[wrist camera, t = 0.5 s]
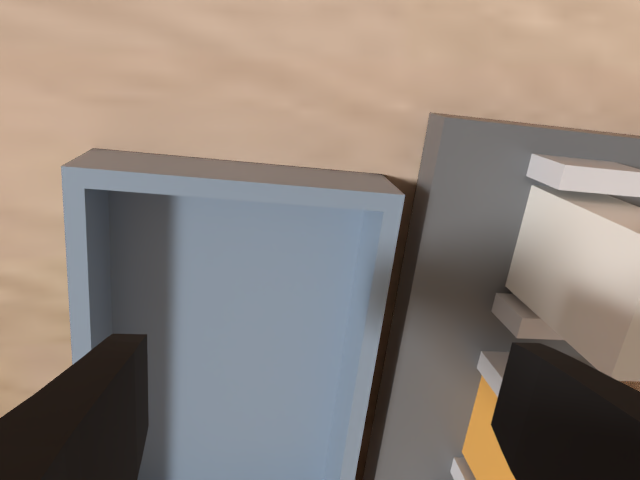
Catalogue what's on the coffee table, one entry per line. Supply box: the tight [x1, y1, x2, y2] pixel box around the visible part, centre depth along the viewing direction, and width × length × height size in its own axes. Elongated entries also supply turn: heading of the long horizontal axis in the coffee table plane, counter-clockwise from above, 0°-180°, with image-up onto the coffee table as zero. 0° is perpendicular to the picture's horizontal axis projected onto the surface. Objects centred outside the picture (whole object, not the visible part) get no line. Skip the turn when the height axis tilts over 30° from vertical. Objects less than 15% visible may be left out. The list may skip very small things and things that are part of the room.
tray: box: [61, 148, 405, 480], centre depth 19 cm, size 15×10×3 cm
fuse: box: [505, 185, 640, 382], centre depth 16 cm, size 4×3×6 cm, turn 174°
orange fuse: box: [462, 376, 516, 480], centre depth 18 cm, size 4×3×6 cm, turn 174°
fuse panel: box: [363, 113, 640, 480], centre depth 21 cm, size 24×10×4 cm, turn 173°
